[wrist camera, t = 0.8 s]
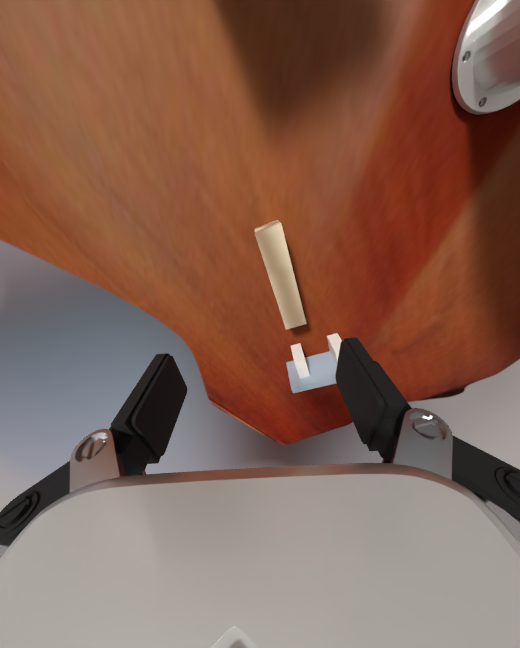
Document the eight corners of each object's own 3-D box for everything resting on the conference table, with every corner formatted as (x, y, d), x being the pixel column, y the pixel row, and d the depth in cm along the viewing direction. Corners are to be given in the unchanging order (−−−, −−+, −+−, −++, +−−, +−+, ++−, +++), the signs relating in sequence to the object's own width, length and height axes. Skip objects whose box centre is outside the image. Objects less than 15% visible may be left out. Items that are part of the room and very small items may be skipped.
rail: (277, 219, 33) (281, 223, 28) (300, 308, 42) (306, 323, 37) (254, 228, 33) (254, 233, 28) (282, 314, 43) (285, 329, 37)
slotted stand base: (281, 348, 47) (285, 373, 41) (347, 330, 45) (363, 353, 38) (288, 367, 51) (293, 393, 44) (350, 352, 48) (365, 376, 42)
